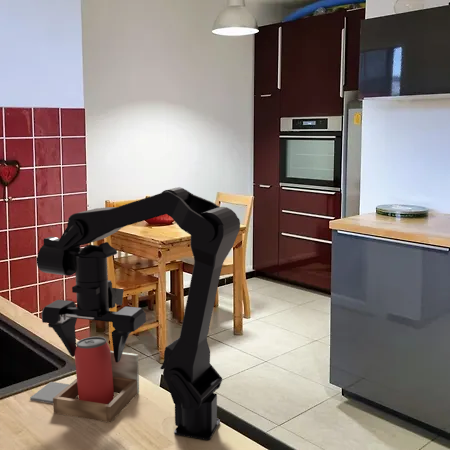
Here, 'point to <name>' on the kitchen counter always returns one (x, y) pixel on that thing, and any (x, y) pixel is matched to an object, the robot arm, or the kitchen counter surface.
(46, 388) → the plate
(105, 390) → the beer can
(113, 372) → the drawer
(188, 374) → the robot arm
